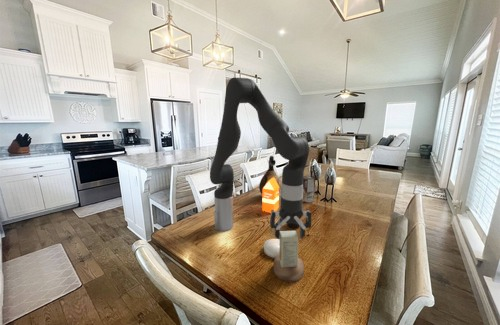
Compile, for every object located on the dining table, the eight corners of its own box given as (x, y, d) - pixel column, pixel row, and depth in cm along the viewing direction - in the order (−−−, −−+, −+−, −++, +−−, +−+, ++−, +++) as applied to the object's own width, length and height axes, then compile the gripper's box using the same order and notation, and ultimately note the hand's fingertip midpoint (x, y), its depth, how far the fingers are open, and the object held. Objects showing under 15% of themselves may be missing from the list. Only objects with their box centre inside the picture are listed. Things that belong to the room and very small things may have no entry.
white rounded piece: (265, 258, 84) (265, 252, 83) (263, 243, 93) (263, 238, 93) (289, 257, 84) (289, 252, 83) (285, 243, 94) (285, 238, 93)
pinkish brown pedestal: (276, 282, 71) (276, 274, 71) (271, 260, 82) (272, 254, 81) (307, 281, 72) (307, 273, 71) (299, 260, 82) (299, 253, 82)
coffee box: (314, 201, 141) (315, 178, 138) (306, 202, 139) (307, 179, 135) (306, 196, 149) (307, 175, 146) (298, 198, 147) (299, 176, 144)
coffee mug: (289, 231, 104) (290, 212, 102) (282, 222, 112) (283, 205, 110) (310, 227, 107) (311, 209, 105) (301, 220, 115) (302, 203, 113)
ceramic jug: (282, 201, 141) (283, 158, 135) (259, 201, 141) (259, 158, 135) (279, 192, 157) (280, 154, 151) (258, 192, 158) (259, 154, 152)
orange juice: (262, 211, 127) (262, 179, 123) (267, 205, 134) (268, 176, 130) (273, 213, 123) (274, 181, 119) (279, 208, 131) (279, 177, 127)
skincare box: (295, 259, 79) (296, 229, 76) (298, 267, 74) (299, 236, 72) (278, 259, 78) (279, 230, 76) (280, 267, 74) (281, 236, 72)
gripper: (272, 200, 67) (271, 244, 70) (316, 199, 67) (312, 243, 71) (269, 191, 74) (268, 232, 78) (308, 191, 75) (306, 231, 78)
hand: (289, 237), depth 74 cm, fingers open, 8 cm apart
